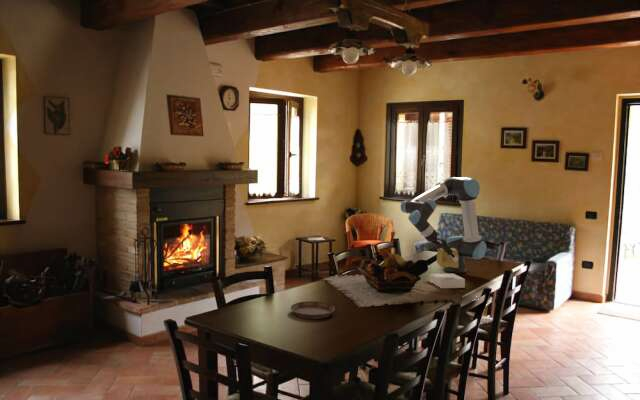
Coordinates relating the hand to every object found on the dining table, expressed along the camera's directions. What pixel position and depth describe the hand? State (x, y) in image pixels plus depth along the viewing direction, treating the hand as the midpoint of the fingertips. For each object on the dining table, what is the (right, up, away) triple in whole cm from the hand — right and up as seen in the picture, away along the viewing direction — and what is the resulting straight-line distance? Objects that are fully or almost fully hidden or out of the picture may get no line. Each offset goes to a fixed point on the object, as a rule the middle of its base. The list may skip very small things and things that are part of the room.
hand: (452, 258), depth 315 cm
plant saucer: (-82, -19, -65) cm, 106 cm away
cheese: (-3, -4, 0) cm, 5 cm away
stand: (-3, -16, +1) cm, 16 cm away
